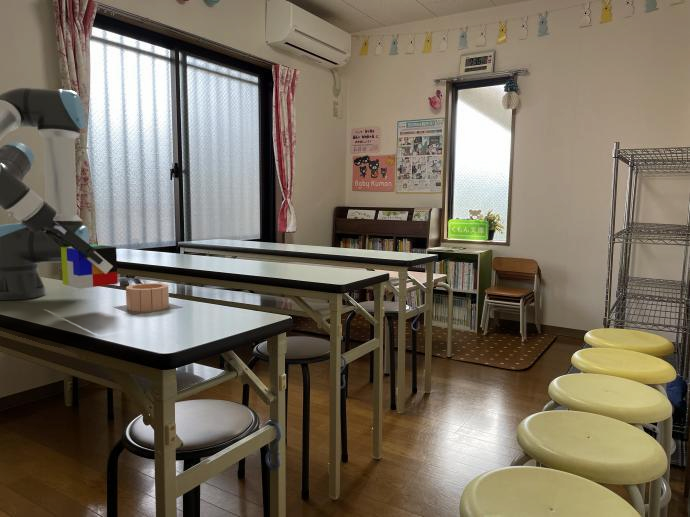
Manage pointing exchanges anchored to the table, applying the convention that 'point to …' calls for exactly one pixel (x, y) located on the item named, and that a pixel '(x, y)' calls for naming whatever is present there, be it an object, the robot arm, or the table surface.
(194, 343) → the table surface
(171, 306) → the rubber mat
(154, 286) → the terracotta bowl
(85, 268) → the puzzle toy
